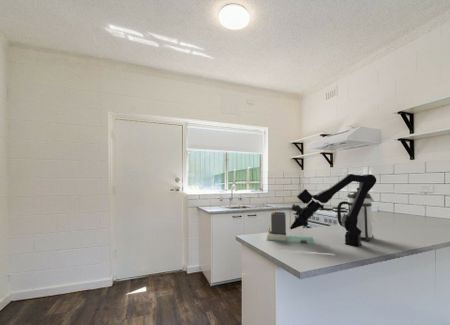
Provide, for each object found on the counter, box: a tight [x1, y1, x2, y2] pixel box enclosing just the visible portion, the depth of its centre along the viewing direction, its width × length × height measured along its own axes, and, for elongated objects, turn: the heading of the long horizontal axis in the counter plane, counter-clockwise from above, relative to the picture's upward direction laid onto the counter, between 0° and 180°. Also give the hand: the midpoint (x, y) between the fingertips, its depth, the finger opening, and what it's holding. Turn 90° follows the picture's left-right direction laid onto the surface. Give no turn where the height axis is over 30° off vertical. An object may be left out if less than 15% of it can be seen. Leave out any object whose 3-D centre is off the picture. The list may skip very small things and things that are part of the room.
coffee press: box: [336, 187, 375, 242], centre depth 136 cm, size 17×16×30 cm
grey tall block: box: [270, 210, 287, 236], centre depth 132 cm, size 8×5×15 cm, turn 76°
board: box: [266, 226, 317, 245], centre depth 130 cm, size 26×14×6 cm, turn 76°
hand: (290, 228), depth 130 cm, fingers closed
